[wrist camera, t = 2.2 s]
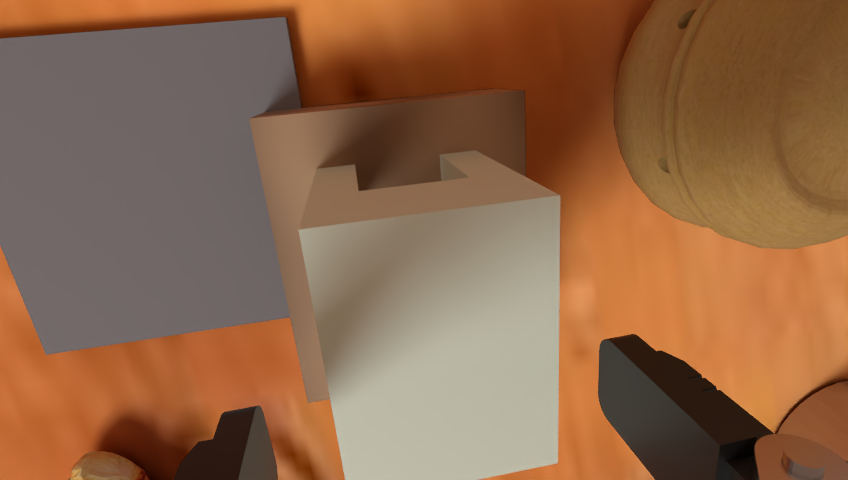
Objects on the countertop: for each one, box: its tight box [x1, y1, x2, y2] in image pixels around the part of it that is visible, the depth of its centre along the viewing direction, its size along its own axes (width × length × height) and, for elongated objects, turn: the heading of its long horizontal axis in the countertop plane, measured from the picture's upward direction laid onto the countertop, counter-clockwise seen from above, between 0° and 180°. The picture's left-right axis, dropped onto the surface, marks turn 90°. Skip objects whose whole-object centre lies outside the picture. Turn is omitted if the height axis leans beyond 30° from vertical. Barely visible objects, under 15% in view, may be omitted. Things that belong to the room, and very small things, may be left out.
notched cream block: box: [298, 150, 560, 480], centre depth 15 cm, size 6×8×8 cm
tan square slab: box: [249, 89, 526, 403], centre depth 21 cm, size 10×12×4 cm
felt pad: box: [0, 17, 302, 355], centre depth 20 cm, size 13×13×1 cm
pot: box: [614, 0, 848, 249], centre depth 18 cm, size 12×12×10 cm
